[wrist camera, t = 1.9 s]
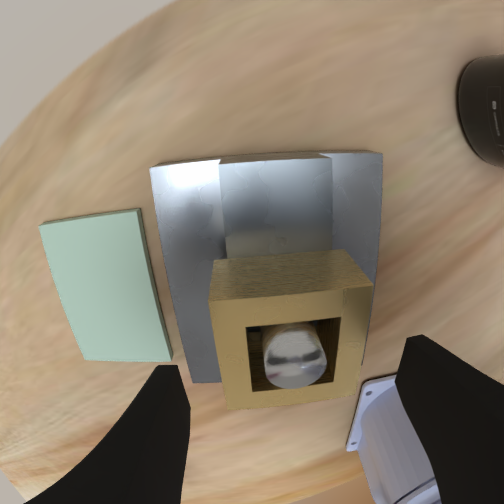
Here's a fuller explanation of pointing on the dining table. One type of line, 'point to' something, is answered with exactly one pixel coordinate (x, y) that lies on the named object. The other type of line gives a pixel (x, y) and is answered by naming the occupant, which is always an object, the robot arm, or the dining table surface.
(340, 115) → the dining table surface
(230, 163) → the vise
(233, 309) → the brass collar
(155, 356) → the green mat
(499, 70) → the supplement bottle
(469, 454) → the robot arm
